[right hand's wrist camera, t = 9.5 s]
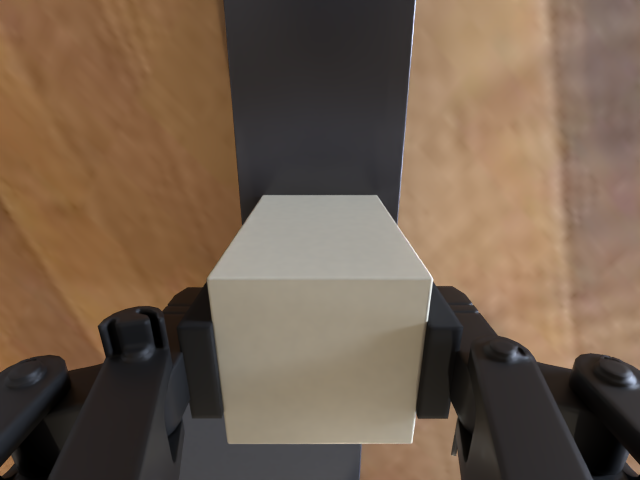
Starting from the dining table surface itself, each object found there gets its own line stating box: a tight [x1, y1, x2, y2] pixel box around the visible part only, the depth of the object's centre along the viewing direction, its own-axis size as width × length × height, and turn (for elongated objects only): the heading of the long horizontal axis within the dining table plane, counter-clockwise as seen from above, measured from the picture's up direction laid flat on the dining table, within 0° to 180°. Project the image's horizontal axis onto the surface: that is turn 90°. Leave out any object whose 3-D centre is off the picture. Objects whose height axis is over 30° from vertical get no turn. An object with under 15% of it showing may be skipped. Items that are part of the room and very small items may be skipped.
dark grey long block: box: [224, 0, 416, 225], centre depth 12 cm, size 26×7×10 cm, turn 0°
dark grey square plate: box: [179, 403, 362, 480], centre depth 25 cm, size 14×14×1 cm
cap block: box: [207, 195, 433, 444], centre depth 12 cm, size 5×5×8 cm
